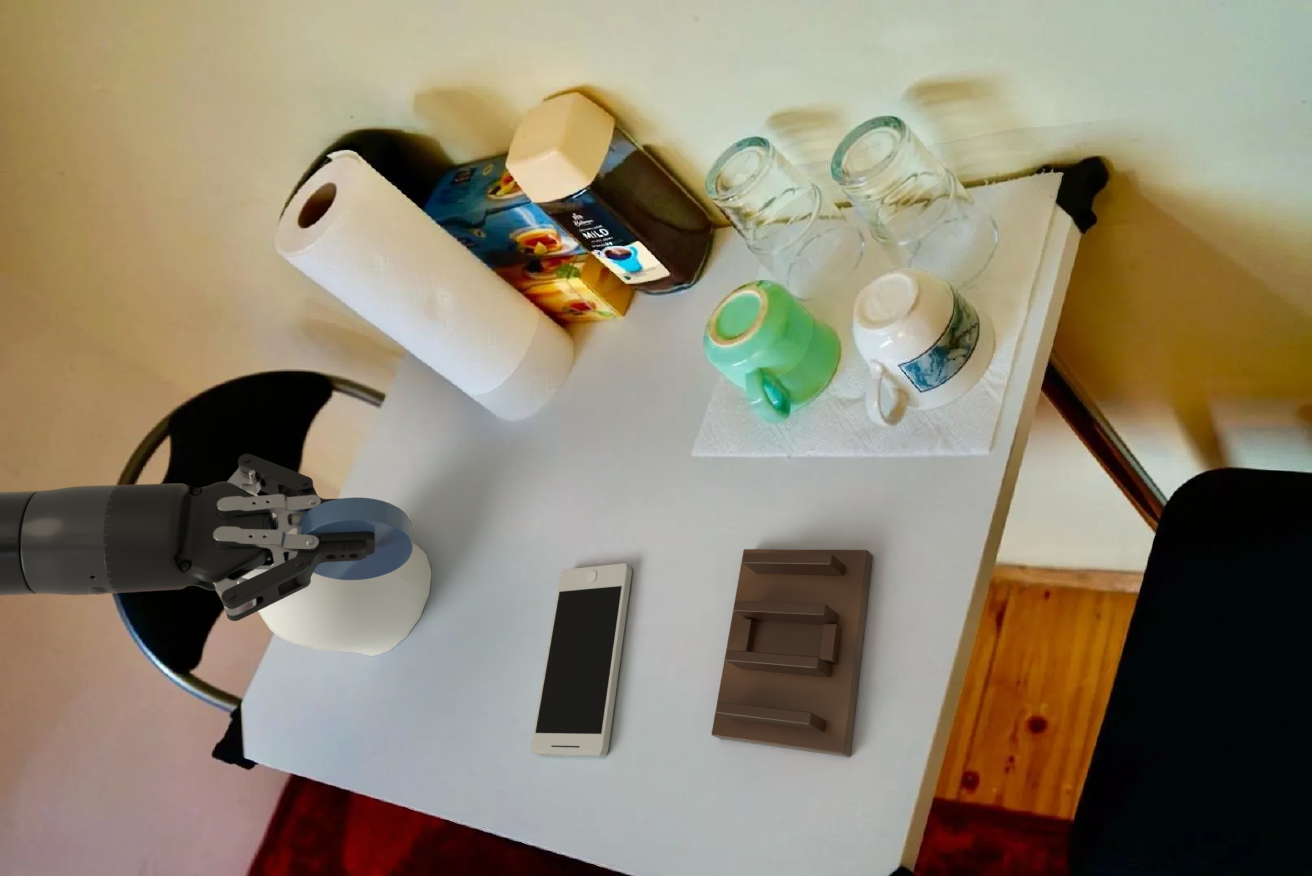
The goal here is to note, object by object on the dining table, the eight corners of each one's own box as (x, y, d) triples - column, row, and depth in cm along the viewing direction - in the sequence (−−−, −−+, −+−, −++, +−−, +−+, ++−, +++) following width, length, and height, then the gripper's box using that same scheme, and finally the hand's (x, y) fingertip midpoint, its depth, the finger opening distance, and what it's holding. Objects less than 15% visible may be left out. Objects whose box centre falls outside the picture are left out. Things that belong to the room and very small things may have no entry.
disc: (436, 547, 69) (351, 505, 63) (358, 591, 72) (270, 555, 66) (435, 526, 70) (352, 482, 64) (358, 570, 73) (271, 532, 67)
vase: (453, 525, 90) (290, 438, 76) (419, 666, 84) (233, 599, 70) (360, 538, 98) (195, 461, 84) (322, 669, 92) (136, 609, 77)
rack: (850, 757, 59) (828, 746, 56) (719, 738, 64) (693, 728, 62) (873, 555, 64) (854, 537, 62) (750, 554, 70) (728, 537, 67)
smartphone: (633, 565, 75) (626, 562, 75) (607, 757, 68) (600, 754, 68) (566, 573, 79) (560, 569, 78) (536, 755, 72) (528, 752, 71)
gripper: (80, 598, 55) (373, 581, 60) (119, 428, 64) (373, 425, 69) (110, 654, 61) (376, 634, 66) (142, 491, 69) (376, 484, 74)
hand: (373, 527), depth 67 cm, fingers closed on disc, 2 cm apart
